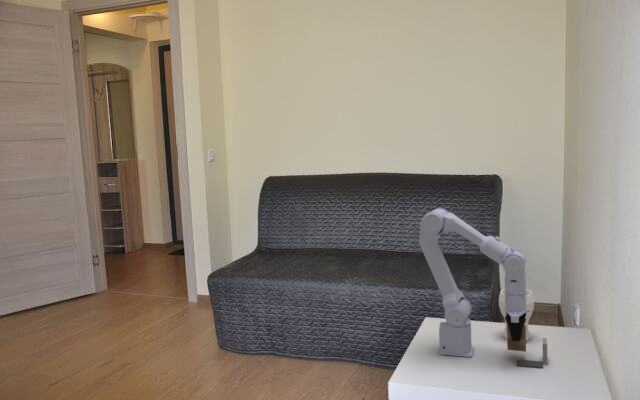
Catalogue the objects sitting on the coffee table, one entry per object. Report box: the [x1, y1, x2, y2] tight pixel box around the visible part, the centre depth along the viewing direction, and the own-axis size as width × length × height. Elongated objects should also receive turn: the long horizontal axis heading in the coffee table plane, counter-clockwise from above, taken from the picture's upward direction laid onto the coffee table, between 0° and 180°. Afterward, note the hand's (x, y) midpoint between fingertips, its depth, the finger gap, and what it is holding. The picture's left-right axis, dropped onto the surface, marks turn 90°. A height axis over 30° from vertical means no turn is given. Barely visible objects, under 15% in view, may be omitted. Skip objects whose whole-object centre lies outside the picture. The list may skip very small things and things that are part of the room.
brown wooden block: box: [506, 324, 527, 352], centre depth 158 cm, size 5×2×7 cm, turn 69°
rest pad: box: [515, 358, 544, 369], centre depth 154 cm, size 7×4×1 cm, turn 69°
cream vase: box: [498, 288, 535, 342], centre depth 174 cm, size 11×11×15 cm
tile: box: [541, 337, 549, 366], centre depth 156 cm, size 1×5×6 cm, turn 159°
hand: (516, 338), depth 158 cm, fingers closed on brown wooden block, 2 cm apart
